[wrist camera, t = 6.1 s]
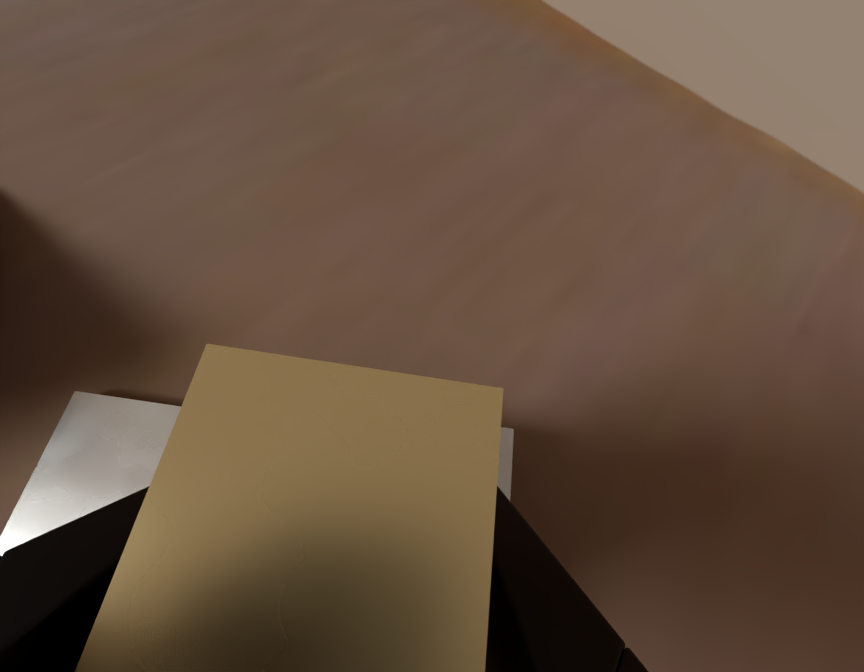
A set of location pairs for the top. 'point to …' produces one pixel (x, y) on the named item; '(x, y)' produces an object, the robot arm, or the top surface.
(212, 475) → the tan rectangular pillar
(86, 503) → the hinge base
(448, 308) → the top surface
